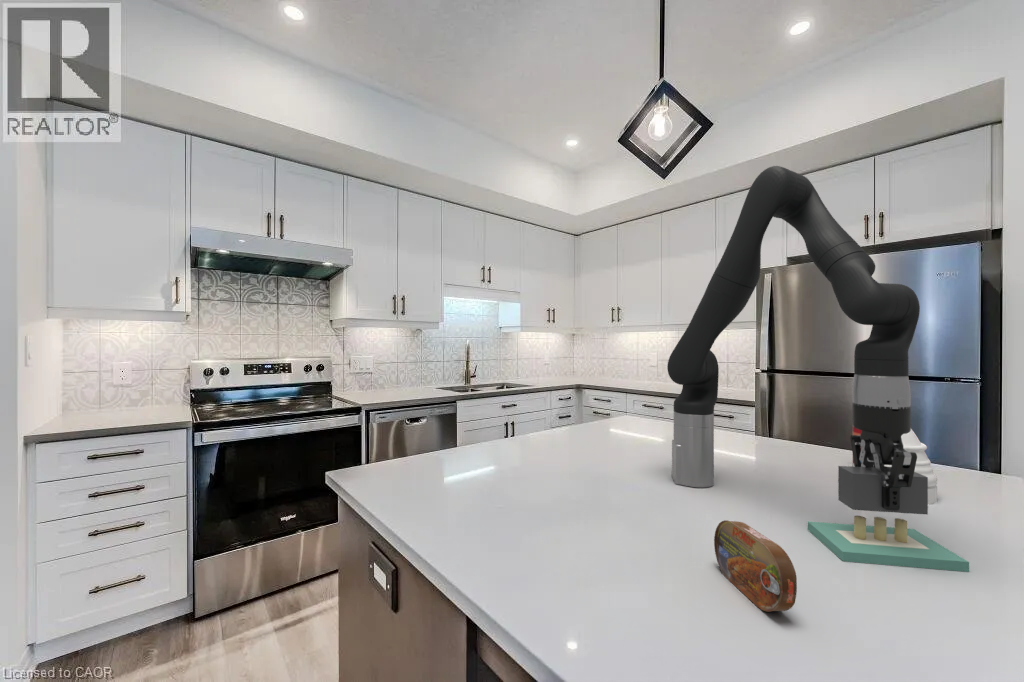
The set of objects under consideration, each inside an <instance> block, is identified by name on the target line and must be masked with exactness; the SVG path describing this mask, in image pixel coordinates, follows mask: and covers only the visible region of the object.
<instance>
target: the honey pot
mask: <svg viewBox="0 0 1024 682" xmlns="http://www.w3.org/2000/svg"><path fill="white" fill-rule="evenodd" d="M901 439H902V443H903V449H904V450H906V451H907V452H915V453H916V455H917V461H916V466H915V470H914V472H916V473H919V474H921V475H923V476H926V477H928V504H929V505H935V504H937V502H938V486H937V484H938V482H937V481H938V477H937V475H936V474H935V472H934V468H933V466H932V465H931V464H932V462H931V460H930V459H929V457H928V455H927V453H926V452H925V451H926V450H927V449H928V446H927V445H926V444H925V443H923V442H921V441H920V439H919V438H918V436H917V435H916V433H915V432H914V430H913V429H912V428H911V431H910V432H909V433H907V434H903V435H902V436H901ZM884 466H885V467H892V465H884ZM873 467H874V465H873ZM934 503H935V504H934Z"/></svg>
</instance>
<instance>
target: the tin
mask: <svg viewBox="0 0 1024 682" xmlns="http://www.w3.org/2000/svg"><path fill="white" fill-rule="evenodd" d="M713 537H714V538H713V541H714V542H713V544H714V552H715V553H714V554H715V558H716V561H717V565H718V566H719V569H720V571H721V573H722V575H723V576H724V577H725V578H726V580H727V581H729V582H730V584H732V585H733V586H734V587H735V588H736V589H738V590H739V591H740V592H741V593H742V594H743V595H744V596H745V597H746V598H747V599H748V600H749V601H751V602H752V603H753V604H754V605H755V606H756V607H757V608H758V609H760V610H761V611H764V612H769V613H770V612H785V611H788V610H790V609H792V608H793V607H794V605H795V604H796V598H797V592H798V591H797V589H798V586H797V585H798V584H797V583H798V582H797V573H796V570H795V567H794V564H793V561H792V560H791V558H790V556H789V555H788V554H787V552H786V551H785V550H784V549H783V547H781V545H779V544H778V543H776V542H774V541H773V540H771V539H769V538H768V537H767V536H765V535H764V534H762V533H761V532H759V531H758V530H756V529H755V528H753V527H751V526H750V525H748V524H747V523H745V522H742V521H736V520H734V521H732V520H721V521H720V522H719V523H718V525H717V526H716V528H715V532H714V536H713Z"/></svg>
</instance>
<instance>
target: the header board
mask: <svg viewBox="0 0 1024 682" xmlns="http://www.w3.org/2000/svg"><path fill="white" fill-rule="evenodd" d="M853 518H854V519H853V524H850V523H849V524H848V523H837V522H835V523H834V522H823V521H822V522H820V521H807V530H808V532H810V533H811V534H812V535H813V536H814V537H816V539H817V540H818V541H820V543H822V545H824V546H825V547H826V548H828V550H830V551H831V552H832V553H833V554H834V555H836V557H837V558H839V559H840V561H842V562H847V563H848V562H850V563H859V564H860V563H861V564H873V565H882V566H883V565H885V566H894V567H895V566H899V567H905V568H906V567H907V568H919V569H932V570H943V571H955V572H966V573H970V561H968V560H967V559H965V558H963V557H961V556H960V555H958V554H957V553H955V552H954V551H952V550H950V549H949V548H946V547H945V546H944V545H941V544H940V543H938V542H936V541H934V539H931V538H930V537H929V536H927V535H925V534H923V533H921V531H918V530H917V529H915V528H908V520H906V519H903V518H899V517H898V518H897V517H895V518H894V527H892V526H887V522H888V521H887V519H886V518H885V517H880V516H874V517H873V525H867V518H866V517H865V516H862V515H853Z"/></svg>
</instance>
